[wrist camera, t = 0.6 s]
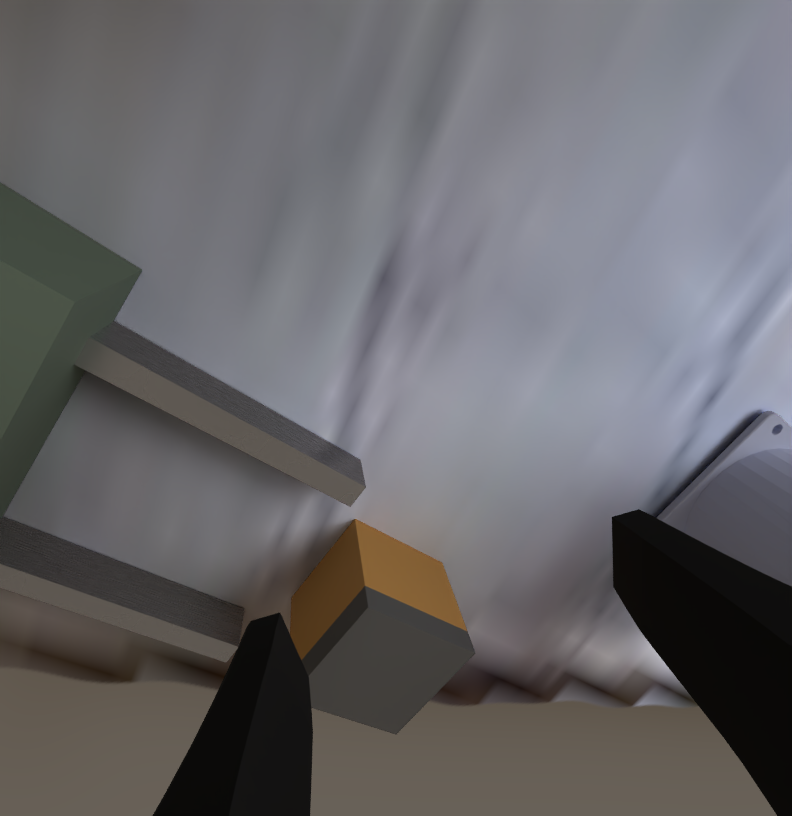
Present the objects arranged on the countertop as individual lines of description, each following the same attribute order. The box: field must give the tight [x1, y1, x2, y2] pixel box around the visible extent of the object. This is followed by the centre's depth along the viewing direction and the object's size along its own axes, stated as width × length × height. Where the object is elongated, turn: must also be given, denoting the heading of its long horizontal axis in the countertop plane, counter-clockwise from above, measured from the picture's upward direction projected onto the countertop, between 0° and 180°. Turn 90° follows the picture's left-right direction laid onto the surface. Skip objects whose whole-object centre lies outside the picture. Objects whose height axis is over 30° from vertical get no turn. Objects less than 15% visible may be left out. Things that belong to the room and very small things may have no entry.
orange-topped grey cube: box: [290, 519, 475, 734], centre depth 20 cm, size 5×5×5 cm
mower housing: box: [0, 183, 366, 662], centre depth 16 cm, size 16×14×5 cm
